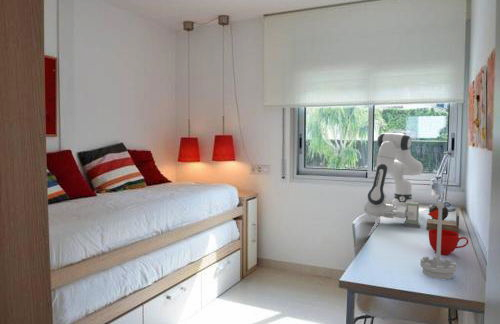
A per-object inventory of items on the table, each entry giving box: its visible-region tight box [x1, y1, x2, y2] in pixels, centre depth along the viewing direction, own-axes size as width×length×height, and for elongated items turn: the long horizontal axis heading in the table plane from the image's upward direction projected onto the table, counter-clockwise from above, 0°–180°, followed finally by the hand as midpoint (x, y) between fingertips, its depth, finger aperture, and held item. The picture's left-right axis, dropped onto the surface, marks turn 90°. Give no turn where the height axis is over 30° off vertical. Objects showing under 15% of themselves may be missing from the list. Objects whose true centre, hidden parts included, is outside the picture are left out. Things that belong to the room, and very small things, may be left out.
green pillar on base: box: [403, 201, 421, 229], centre depth 236 cm, size 9×9×14 cm
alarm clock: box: [428, 197, 449, 220], centre depth 247 cm, size 11×5×16 cm, turn 84°
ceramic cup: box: [428, 229, 469, 256], centre depth 179 cm, size 13×17×10 cm
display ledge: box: [426, 211, 460, 234], centre depth 228 cm, size 14×17×10 cm
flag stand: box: [419, 201, 457, 280], centre depth 151 cm, size 13×13×30 cm
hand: (413, 213), depth 235 cm, fingers open, 5 cm apart
